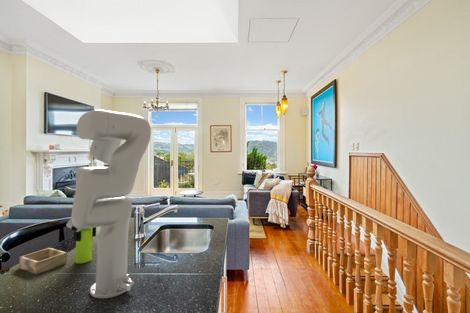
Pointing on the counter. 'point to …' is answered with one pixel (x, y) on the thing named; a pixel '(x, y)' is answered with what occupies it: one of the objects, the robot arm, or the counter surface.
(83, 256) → the soap dispenser
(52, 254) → the box
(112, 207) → the robot arm
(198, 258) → the counter surface
